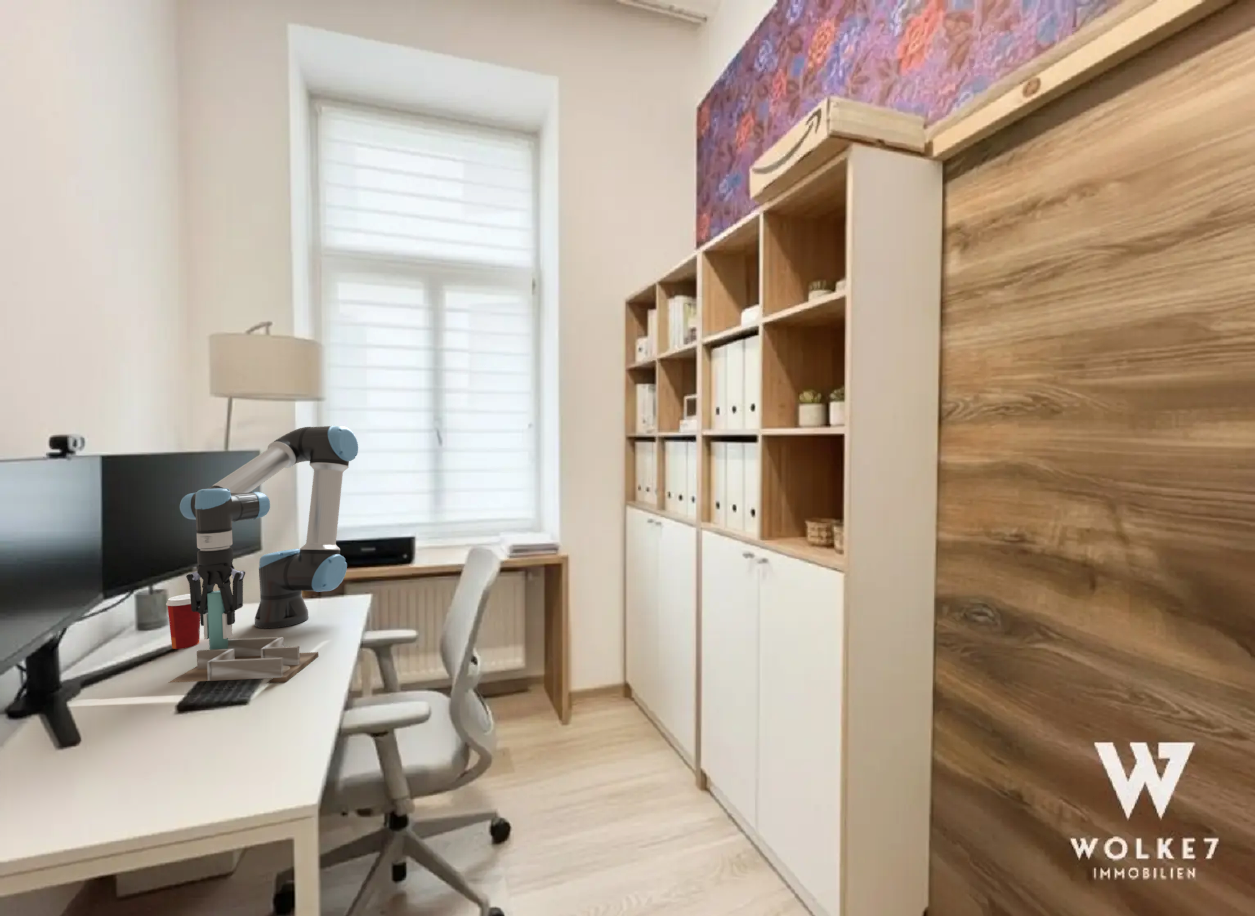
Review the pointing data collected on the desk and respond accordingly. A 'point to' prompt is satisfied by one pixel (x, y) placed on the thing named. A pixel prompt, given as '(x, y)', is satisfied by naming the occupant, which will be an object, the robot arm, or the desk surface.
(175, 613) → the coffee cup
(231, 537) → the robot arm
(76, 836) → the desk surface
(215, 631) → the teal dowel
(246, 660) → the slot board
